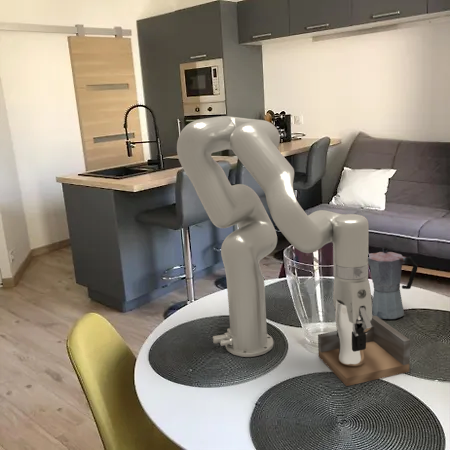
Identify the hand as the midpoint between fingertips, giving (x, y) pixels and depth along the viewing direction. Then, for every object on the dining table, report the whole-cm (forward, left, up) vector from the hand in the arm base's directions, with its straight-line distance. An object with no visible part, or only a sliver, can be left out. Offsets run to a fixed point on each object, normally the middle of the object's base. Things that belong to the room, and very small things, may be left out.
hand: (350, 342), depth 118 cm
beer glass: (0, 0, -5) cm, 5 cm away
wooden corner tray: (+4, +1, -7) cm, 8 cm away
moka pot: (+25, +22, -7) cm, 34 cm away
